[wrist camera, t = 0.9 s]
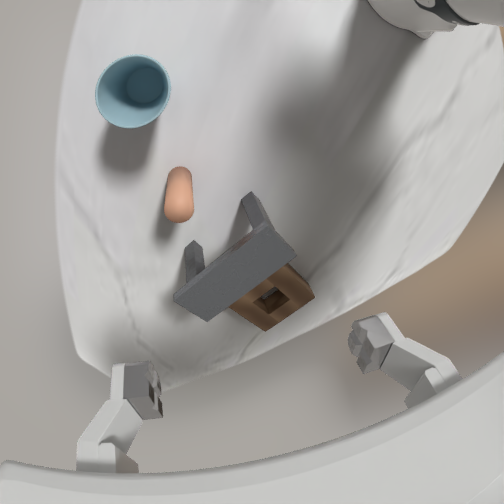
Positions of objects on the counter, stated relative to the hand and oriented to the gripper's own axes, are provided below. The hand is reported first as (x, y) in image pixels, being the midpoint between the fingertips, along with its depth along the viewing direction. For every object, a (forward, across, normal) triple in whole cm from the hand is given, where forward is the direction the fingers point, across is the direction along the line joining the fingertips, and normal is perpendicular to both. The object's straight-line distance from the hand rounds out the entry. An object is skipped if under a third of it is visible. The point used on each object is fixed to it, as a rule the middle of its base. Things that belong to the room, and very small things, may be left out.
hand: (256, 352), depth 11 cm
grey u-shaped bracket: (+34, -2, +14) cm, 37 cm away
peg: (+34, +3, +5) cm, 35 cm away
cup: (+34, +6, -9) cm, 36 cm away
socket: (+35, -10, +28) cm, 46 cm away
